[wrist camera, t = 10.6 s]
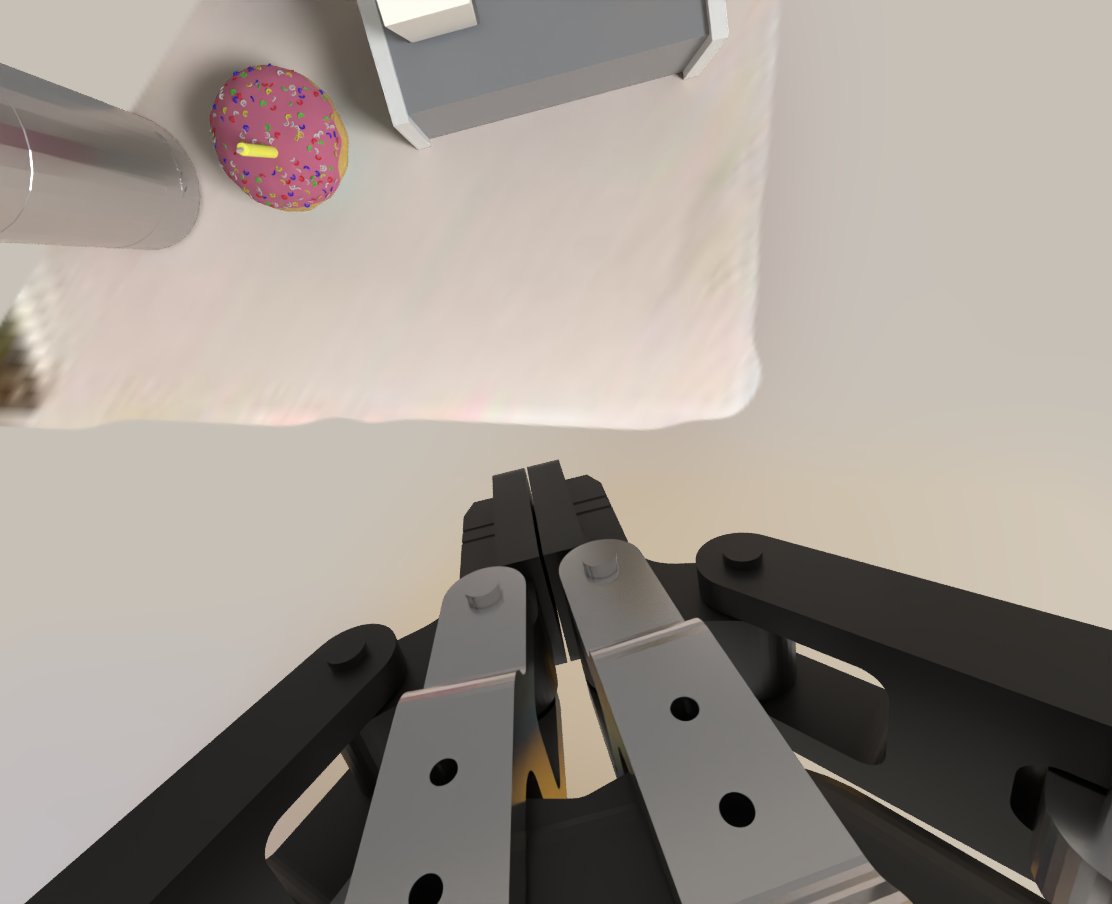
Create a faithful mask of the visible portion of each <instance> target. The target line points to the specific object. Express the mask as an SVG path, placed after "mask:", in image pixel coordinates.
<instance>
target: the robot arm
mask: <svg viewBox="0 0 1112 904" xmlns="http://www.w3.org/2000/svg"><path fill="white" fill-rule="evenodd" d="M199 205H200V191H199V183H198V179H197V176H196V173H195V170H194V167H193V165H192V163H191V161H190V159H189V157H188V155H187V154H186V152H185V151H184V150H183V148H182V147H181V146H180V144H179V143H178V142H177V141H176V140H175V139H174V138H173V137H172V136H171V135H170V134H169V133H168V132H167V131H166V130H164V129H163V128H161V127H160V126H158V125H157V124H155V123H154V122H152V121H150V120H147V119H145V118H143V117H140V116H138V115H135V114H133V113H130V112H127V111H125V110H122V109H119V108H117V107H114V106H111V105H109V104H107V103H104V102H102V101H99V100H97V99H94V98H91V97H89V96H86V95H83V94H81V93H78V92H75V91H73V90H70V89H68V88H65V87H62V86H60V85H57V84H54V83H52V82H49V81H46V80H44V79H41V78H39V77H36V76H33V75H31V74H28V73H25V72H23V71H20V70H17V69H15V68H12V67H9V66H7V65H4V64H1V63H0V242H5V243H25V244H44V245H65V246H85V247H105V248H122V249H143V250H157V249H162V248H166V247H170V246H172V245H174V244H175V243H177V242H179V241H181V240H182V239H183V238H184V237H185V236H186V235H187V234H188V233H189V232H190V230H191V228H192V227H193V225H194V224H195V221H196V218H197V215H198V212H199ZM527 470H528V475H529V481H530V486H531V490H530V487H529V483H528V479H527V475H526V472H525V469H524V468H522V469H518V470H514V471H510V472H506V473H502V474H498V475H494V476H493V477H492V478H493V498H490V499H486V500H482V501H478V502H474V503H473V505H472V506H471V507H470V509H469V510H468V512H467V513H466V514H465V516H464V522H463V538H462V543H463V545H462V551H461V568H460V580H458V581H457V582H456V583H455V584H453V585H452V586H451V588H450V589H449V590H448V591H447V593H446V594H445V596H444V599H443V602H442V606H441V611H440V615H439V618H438V619H437V620H435V621H434V622H432V623H431V624H429V625H427V626H425V627H424V628H422V629H420V630H418V631H416V632H413V633H411V634H409V635H407V636H405V637H403V638H401V639H399V640H397V639H396V636H395V634H394V633H393V631H392V630H391V629H390V628H389V627H386V626H384V625H380V624H366V625H361V626H357V627H354V628H351V629H348V630H346V631H344V632H342V633H340V634H338V635H336V636H335V637H333V638H331V639H330V640H328V641H327V642H326V643H325V644H323V645H322V646H321V647H320V648H319V649H317V650H316V651H315V652H314V653H313V654H312V655H310V656H309V657H308V658H307V659H306V660H305V661H304V662H302V663H301V664H300V665H299V666H298V667H297V668H295V669H294V670H293V671H292V672H291V673H290V674H289V675H287V676H286V677H285V678H284V679H283V680H282V681H280V682H279V683H278V684H277V685H276V686H275V687H274V688H272V689H271V690H270V691H269V692H268V693H267V694H265V695H264V696H263V697H262V698H261V699H260V700H259V701H258V702H256V703H255V704H254V705H253V706H252V707H250V708H249V709H248V710H247V711H246V712H245V713H244V714H242V715H241V716H240V717H239V718H238V719H237V720H235V721H234V722H233V723H232V724H231V725H230V726H229V727H228V728H226V729H225V730H224V731H223V732H222V733H221V734H219V735H218V736H217V737H216V738H215V739H214V740H213V741H211V743H209V744H208V745H207V746H206V747H204V748H203V749H202V750H201V751H200V752H199V753H198V754H196V755H195V756H194V757H193V758H192V759H191V760H190V761H188V762H187V763H186V764H185V765H184V766H182V767H181V768H180V769H179V770H178V771H177V772H176V773H174V774H173V775H172V776H171V777H170V778H169V779H168V780H166V781H165V782H164V783H163V784H162V785H161V786H160V787H158V788H157V789H156V790H155V791H154V792H153V793H151V794H150V795H149V796H148V797H147V798H146V799H144V800H143V801H142V802H141V803H140V804H139V805H138V806H137V807H135V808H134V809H133V810H132V811H131V812H129V813H128V814H127V815H126V816H125V817H124V818H123V819H122V820H120V821H119V822H118V823H117V824H116V825H114V826H113V827H112V828H111V829H110V830H109V831H108V832H106V833H105V834H104V835H103V836H102V837H101V838H99V839H98V840H97V841H96V842H95V843H94V844H93V845H91V846H90V847H89V848H88V849H87V850H86V851H85V852H84V853H82V854H81V855H80V856H79V857H78V858H76V859H75V861H73V862H72V863H71V864H70V865H68V866H67V867H66V868H65V869H64V870H63V871H61V873H59V874H58V875H57V876H56V877H55V878H53V880H51V881H50V882H49V883H48V884H46V885H45V886H44V887H43V888H42V889H41V890H40V891H38V892H37V893H36V894H35V895H34V896H33V897H32V898H30V899H29V900H28V901H27V902H26V903H25V904H1112V630H1109V629H1105V628H1102V627H1098V626H1094V625H1091V624H1087V623H1083V622H1080V621H1076V620H1072V619H1069V618H1064V617H1061V616H1057V615H1053V614H1050V613H1046V612H1042V611H1039V610H1036V609H1032V608H1028V607H1024V606H1021V605H1017V604H1014V603H1010V602H1006V601H1003V600H999V599H995V598H991V597H988V596H984V595H981V594H977V593H973V592H969V591H965V590H962V589H958V588H955V587H951V586H947V585H944V584H940V583H936V582H932V581H929V580H925V579H921V578H918V577H914V576H911V575H907V574H903V573H900V572H896V571H892V570H889V569H885V568H881V567H878V566H874V565H870V564H866V563H863V562H859V561H856V560H852V559H848V558H845V557H841V556H837V555H834V554H830V553H826V552H823V551H819V550H815V549H811V548H808V547H804V546H801V545H797V544H793V543H789V542H786V541H782V540H779V539H775V538H771V537H768V536H764V535H760V534H754V533H732V534H726V535H722V536H719V537H716V538H714V539H712V540H710V541H708V542H707V543H705V544H704V545H703V546H702V547H701V548H700V549H699V551H698V553H697V555H696V563H685V564H667V563H659V562H654V561H651V560H648V559H645V558H644V556H643V555H642V553H641V552H640V550H639V549H638V548H637V547H635V546H634V545H633V544H631V543H628V541H627V538H626V537H625V534H624V532H623V530H622V528H621V525H620V524H619V521H618V519H617V517H616V515H615V513H614V511H613V508H612V507H611V504H610V502H609V499H608V498H607V495H606V493H605V491H604V489H603V486H602V484H601V483H600V482H599V481H597V480H595V479H593V478H592V477H590V476H588V475H583V476H580V477H576V478H571V479H567V480H565V478H564V475H563V472H562V469H561V466H560V463H559V460H555V461H550V462H546V463H543V464H538V465H534V466H530V467H527ZM531 492H532V494H531ZM532 497H533V498H532ZM557 610H558V612H557ZM558 614H559V617H558ZM559 618H560V621H561V625H562V629H563V633H564V637H565V640H566V644H567V648H568V652H569V656H570V660H571V661H574V660H577V659H581V663H582V667H583V671H584V674H585V678H586V682H587V686H588V690H589V694H590V698H591V701H592V704H593V707H594V710H595V713H596V716H597V720H598V723H599V725H600V729H601V732H602V735H603V738H604V741H605V744H606V747H607V750H608V753H609V756H610V759H611V762H612V765H613V768H614V772H615V774H616V777H617V779H616V780H614V781H612V782H610V783H608V784H607V785H605V786H603V787H601V788H600V789H598V790H596V791H594V792H593V793H591V794H589V795H587V796H584V797H580V798H573V799H567V791H566V778H565V763H564V750H563V749H564V748H563V734H562V720H561V707H560V700H559V697H558V694H557V687H558V680H557V674H556V668H555V665H559V664H563V663H567V658H566V653H565V648H564V642H563V638H562V632H561V627H560V623H559ZM795 642H796V643H799V644H801V645H804V646H807V647H809V648H812V649H814V650H817V651H819V652H821V653H824V654H826V655H829V656H832V657H834V658H836V659H839V660H841V661H844V662H846V663H849V664H851V665H854V666H857V667H859V668H861V669H863V670H865V671H866V672H868V673H870V674H871V675H872V676H874V677H875V678H876V679H877V680H878V681H879V682H880V683H881V684H882V685H883V687H884V688H885V689H883V688H881V687H878V686H876V685H873V684H871V683H869V682H866V681H864V680H861V679H859V678H856V677H854V676H852V675H849V674H847V673H844V672H842V671H839V670H837V669H835V668H832V667H830V666H827V665H825V664H823V663H820V662H817V661H815V660H813V659H810V658H808V657H806V656H803V655H801V654H798V653H796V646H795V645H796V644H795ZM793 751H794V752H796V753H797V754H799V755H801V756H803V757H805V758H807V759H808V760H810V761H812V762H814V763H816V764H818V765H819V766H822V767H823V768H825V769H827V770H829V771H831V772H832V773H834V774H836V775H838V776H840V777H842V778H844V779H846V780H847V781H849V782H851V783H853V784H855V785H856V786H858V787H860V788H862V789H864V790H866V791H867V792H870V793H871V794H873V795H875V796H877V797H879V798H880V799H882V800H884V801H886V802H888V803H890V804H891V805H893V806H895V807H897V808H899V809H901V810H903V811H904V812H906V813H908V814H910V815H912V816H914V817H916V818H917V819H919V820H921V821H923V822H925V823H927V824H928V825H930V826H932V827H934V828H936V829H938V830H939V831H942V832H943V833H945V834H947V835H949V836H951V837H952V838H954V839H956V840H958V841H960V842H962V843H963V844H965V845H967V846H969V847H971V848H973V849H975V850H976V851H978V852H980V853H982V854H984V855H986V856H987V857H989V858H991V859H993V860H995V861H997V862H998V863H1000V864H1002V865H1004V866H1006V867H1008V868H1010V869H1012V870H1013V871H1015V872H1017V873H1019V874H1021V875H1023V876H1024V877H1026V878H1028V879H1030V880H1032V881H1034V882H1035V883H1036V884H1037V886H1038V888H1039V890H1040V892H1041V894H1042V895H1043V897H1044V898H1045V899H1044V898H1042V897H1040V896H1038V895H1037V894H1035V893H1033V892H1032V891H1030V890H1028V889H1026V888H1024V887H1023V886H1021V885H1020V884H1018V883H1016V882H1014V881H1012V880H1011V879H1009V878H1008V877H1006V876H1004V875H1002V874H1001V873H999V872H997V871H995V870H994V869H992V868H990V867H989V866H987V865H985V864H983V863H981V862H980V861H978V860H977V859H975V858H973V857H971V856H970V855H968V854H966V853H965V852H963V851H961V850H959V849H958V848H956V847H954V846H953V845H951V844H949V843H947V842H945V841H944V840H942V839H940V838H939V837H937V836H935V835H934V834H932V833H930V832H928V831H926V830H925V829H923V828H922V827H920V826H918V825H916V824H915V823H913V822H911V821H909V820H907V819H906V818H904V817H903V816H901V815H899V814H898V813H896V812H894V811H892V810H891V809H889V808H887V807H885V806H884V805H882V804H880V803H878V802H877V801H875V800H873V799H872V798H870V797H868V796H867V795H865V794H863V793H861V792H859V791H858V790H856V789H854V788H852V787H850V786H848V785H846V784H844V783H841V782H839V781H837V780H835V779H832V778H830V777H828V776H825V775H822V774H819V773H816V772H813V771H811V770H807V769H804V767H803V766H802V764H801V763H800V761H799V760H798V758H797V757H796V755H795V754H794V752H793ZM340 753H341V754H342V756H343V758H344V760H345V761H346V763H347V765H348V767H349V769H348V771H347V772H346V773H345V774H344V775H343V776H342V777H341V778H340V780H339V781H338V782H337V783H336V784H335V785H334V786H333V787H332V789H331V790H330V791H329V792H328V793H327V794H326V795H325V797H324V798H323V799H322V800H321V801H320V802H319V803H318V804H317V806H316V807H315V808H314V809H313V810H312V811H311V812H310V813H309V815H308V816H307V817H306V818H305V819H304V820H303V821H302V822H301V824H300V825H299V826H298V827H297V828H296V829H295V830H294V831H293V832H292V834H291V835H290V836H289V837H288V838H287V839H286V840H285V841H284V843H283V844H282V845H281V846H280V847H279V848H278V849H277V851H276V852H274V854H273V855H271V856H270V857H269V858H268V859H265V847H266V843H267V840H268V837H269V835H270V832H271V831H272V829H273V827H274V826H275V824H276V823H277V821H278V820H279V819H280V818H281V816H282V815H283V814H284V813H285V812H286V811H287V810H288V808H290V807H291V805H292V804H293V803H294V802H295V801H296V800H297V799H298V798H299V797H300V796H301V794H302V793H303V792H304V791H305V790H306V789H307V788H308V787H309V786H310V785H311V784H312V783H313V782H314V781H315V780H316V778H317V777H318V776H319V775H320V774H321V773H322V772H323V771H324V770H325V769H326V768H327V766H329V764H330V763H331V762H332V761H333V760H334V759H335V758H336V757H337V756H338V755H339V754H340Z"/></svg>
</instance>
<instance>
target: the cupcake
mask: <svg viewBox="0 0 1112 904" xmlns="http://www.w3.org/2000/svg"><path fill="white" fill-rule="evenodd" d="M235 73H236V75H235ZM237 73H238V74H237ZM233 74H234V75H235V76H233V77H232V78H231V79H229V80H228V81H227V82H226V83H225V84H224V86H223V87H222V88H221V89H220V91H219V93H218V95H217V97H216V100H215V103H214V105H213V108H212V110H211V113H210V125H211V129H210V132H211V130H212V136H213V139H212V141H211V142H212V144H213V141H214V144H213V145H215V149H216V152H217V155H218V158H219V160H220V162H221V163H219V165H220V166H222V167H223V168H224V170H225V172H226V173H227V175H228V176H229V177H230V178H231V179H232V180H233V181H234V182H235V183H236V184H237V185H238V186H239V187H240V188H241V189H242V190H243V191H245V192H246V193H247V194H248V195H249V196H250V198H251V199H252V198H253V199H254V200H256V201H257V202H259V203H262V204H264V205H267V206H270V207H273V208H276V209H279V210H284V211H308V210H311V209H313V208H315V207H316V206H318V205H319V204H321V203H322V202H324V201H325V200H327V199H329V198H331V197H332V195H333V194H334V192H335V191H336V189H337V188H338V186H339V183H340V182H341V180H342V178H343V176H344V174H345V172H346V169H347V166H348V136H347V132H346V129H345V127H344V125H343V122H342V120H341V118H340V116H339V114H338V113H337V111H336V109H335V107H334V105H333V102H332V100H331V99H330V98H329V96H328V95H327V94H326V93H324V92H323V91H322V90H321V89H320V88H319V87H318V86H317V85H315V84H314V83H313V82H312V81H311V80H309V79H308V78H306V77H305V76H303V75H301V74H299V73H297V72H294V70H288V69H284V68H281V67H277V66H272V65H271V64H269V65H261V66H257V65H255V66H254V67H251V66H250V67H248V68H247V69H245V70H243V71H241V72H240V73H239V72H236V71H235V72H233Z"/></svg>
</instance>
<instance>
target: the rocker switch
mask: <svg viewBox="0 0 1112 904" xmlns="http://www.w3.org/2000/svg"><path fill="white" fill-rule="evenodd" d="M377 3H378V6H379V9H380V13H381V16H382V19H383V22H384V25H385V27H387V28H388V29H390V30H392V31H393V32H395V33H397V34H399V35H400V36H402V37H404V38H405V39H406V40H407V42H408V43H410V42H412V43H413V42H417V41H421V40H424V39H428V38H431V37H435V36H439V35H442V34H446V33H450V32H453V31H457V30H461V29H464V28H468V27H472V26H475V25H477V24H480V18H479V14H478V10H477V6H476V1H475V0H377Z"/></svg>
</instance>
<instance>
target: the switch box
mask: <svg viewBox="0 0 1112 904" xmlns="http://www.w3.org/2000/svg"><path fill="white" fill-rule="evenodd" d="M475 1H476V6H477V10H478V14H479V18H480V24H477V25H475V26H472V27H468V28H464V29H461V30H457V31H453V32H450V33H446V34H442V35H439V36H435V37H431V38H428V39H424V40H421V41H417V42H413V43H412V42H410V43H408V42H407V40H406V39H405V38H404V37H402V36H400V35H399V34H397V33H395V32H393V31H392V30H390V29H388V28H387V27H385V25H384V22H383V19H382V16H381V13H380V9H379V6H378V3H377V0H357V3H358V7H359V10H360V14H361V17H362V20H363V24H364V27H365V31H366V34H367V38H368V41H369V44H370V48H371V51H372V55H373V58H374V62H375V65H376V68H377V72H378V75H379V79H380V82H381V85H382V89H383V92H384V96H385V99H386V103H387V106H388V109H389V113H390V116H391V120H392V123H393V126H394V127H395V128H396V129H397V130H398V131H399V132H400V133H401V134H402V135H403V136H404V137H405V138H406V139H407V140H408V141H409V142H410V143H411V144H413V145H414V146H415V147H416V148H417V149H418V150H419V149H423V148H427V147H431V144H430V141H429V139H431V138H435V137H438V136H442V135H446V134H450V133H453V132H457V131H461V130H465V129H469V128H472V127H476V126H480V125H484V124H487V123H491V122H495V121H499V120H502V119H506V118H510V117H514V116H518V115H521V114H525V113H529V112H533V111H536V110H540V109H544V108H548V107H552V106H555V105H559V104H563V103H567V102H570V101H574V100H578V99H582V98H586V97H589V96H593V95H597V94H601V93H604V92H608V91H612V90H616V89H620V88H623V87H627V86H631V85H635V84H638V83H642V82H646V81H650V80H654V79H657V78H661V77H665V76H669V75H672V74H676V73H680V72H683V79H684V80H685V79H688V78H692V77H696V76H698V75H699V73H700V72H701V71H702V70H703V68H704V67H705V66H706V65H707V63H708V62H709V61H710V60H711V58H712V57H713V56H714V55H715V54H716V52H717V51H718V50H719V49H720V47H721V46H722V45H723V44H724V42H725V41H726V40H727V39H728V37H729V31H728V22H727V13H726V3H725V0H475Z"/></svg>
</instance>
